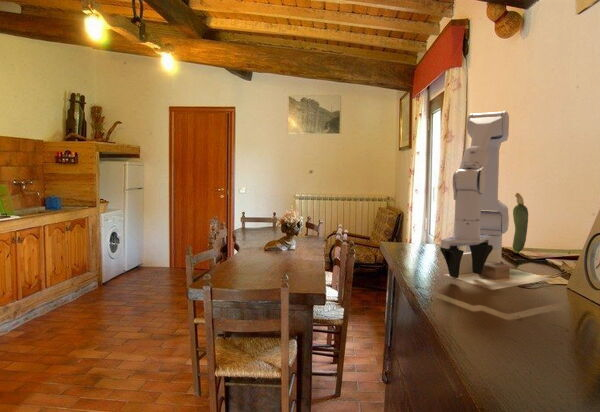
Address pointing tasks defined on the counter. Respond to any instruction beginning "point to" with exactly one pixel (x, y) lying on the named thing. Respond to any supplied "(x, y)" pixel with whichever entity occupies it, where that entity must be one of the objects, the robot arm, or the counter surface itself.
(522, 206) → the vegetable
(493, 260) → the beige rectangular slab
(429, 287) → the counter surface
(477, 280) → the birch board
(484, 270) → the walnut block
